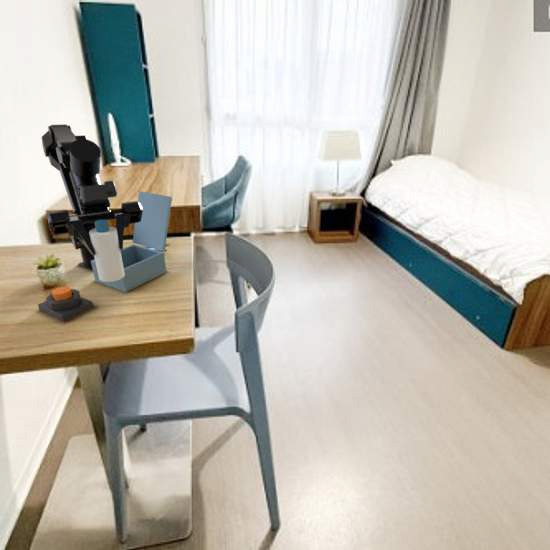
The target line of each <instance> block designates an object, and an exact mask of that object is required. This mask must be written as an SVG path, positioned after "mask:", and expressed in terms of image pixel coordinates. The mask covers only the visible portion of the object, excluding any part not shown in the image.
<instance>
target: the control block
mask: <svg viewBox="0 0 550 550" xmlns="http://www.w3.org/2000/svg"><path fill="white" fill-rule="evenodd" d="M71 292H72V297H71V298H68V299H66V300H62V301H55V300H54V297H53V294H52V293H50V294H48V295H47V297H45V301H43V302H40V303H38V304H37V307H38V310H39V311H40V312H41V313H43V314H46V315H48V316H50V317H52V318H54V319H57V320H59V321H60V322H63V323H65V322H67V321H69V320H72V319H73V318H75V317H77V316H79V315H81V314H83V313H85V312H87V311H89V310H91V309H93V308H94V305H93V301H91V300H90V299H88V298H87V299H86V298H84V297H82V296H81V293H80V291H79V290H78V289H76V288H71Z"/></svg>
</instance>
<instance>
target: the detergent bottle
mask: <svg viewBox="0 0 550 550" xmlns="http://www.w3.org/2000/svg"><path fill="white" fill-rule="evenodd" d="M94 223H95V228H94V229H92V230H90V231H89V235H90V239H91V243H92V246H93V249H94V252H95V255H94V257H95V262H96V266H97V271H98V276H99V279H100V280H101V281H103V282H113V281H117V280H120V279H122V278H123V277H124V276H125V273H124V267H123V262H122V256H121V251H120V245H119V240H118V235H117V229H116V228H115V226H109V220H97V221H95V222H94Z"/></svg>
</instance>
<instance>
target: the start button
mask: <svg viewBox="0 0 550 550" xmlns="http://www.w3.org/2000/svg"><path fill="white" fill-rule="evenodd" d="M71 289H72V288H71V287H70V286H59V287H57V288H54V289H53V290H51V291H52V292H51V294H53V297H54V300H55V301H62V300H66V299H68V298H71V297H72V292H71Z"/></svg>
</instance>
